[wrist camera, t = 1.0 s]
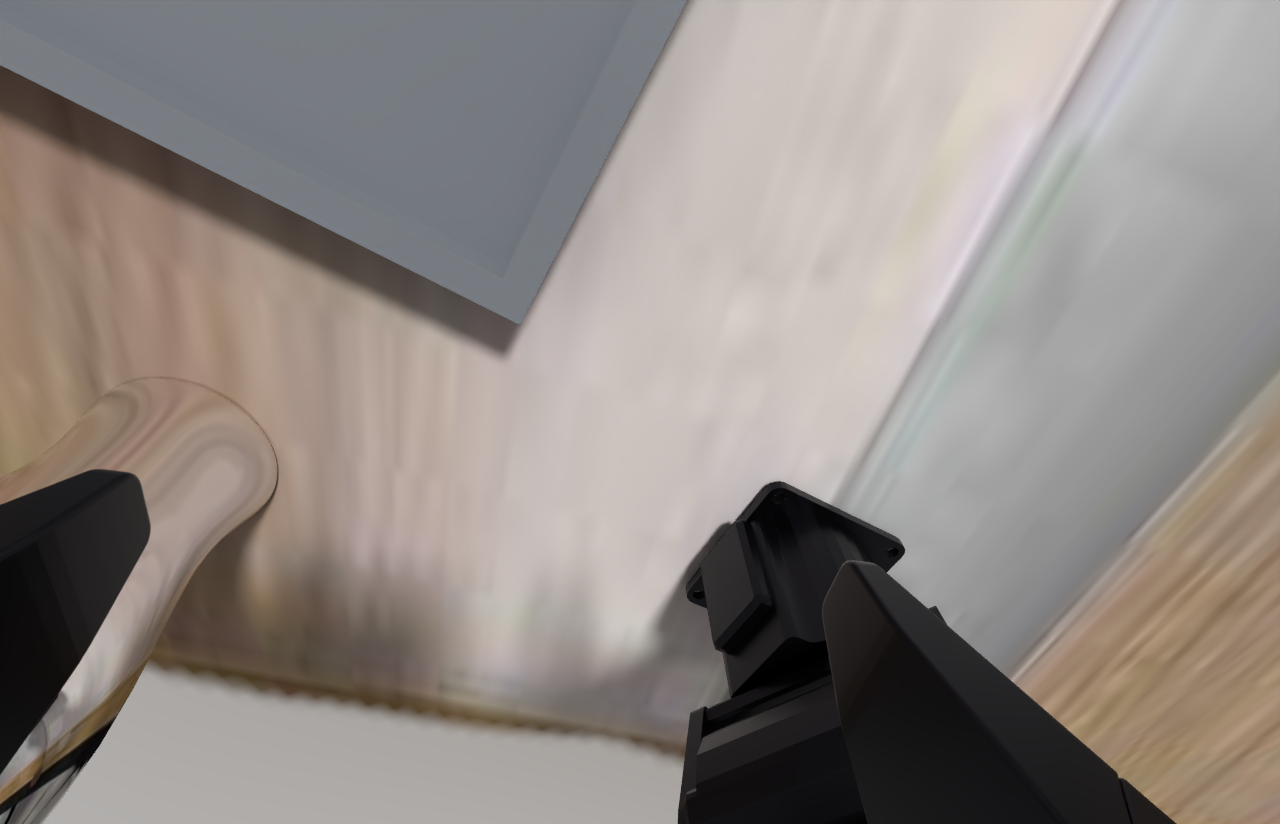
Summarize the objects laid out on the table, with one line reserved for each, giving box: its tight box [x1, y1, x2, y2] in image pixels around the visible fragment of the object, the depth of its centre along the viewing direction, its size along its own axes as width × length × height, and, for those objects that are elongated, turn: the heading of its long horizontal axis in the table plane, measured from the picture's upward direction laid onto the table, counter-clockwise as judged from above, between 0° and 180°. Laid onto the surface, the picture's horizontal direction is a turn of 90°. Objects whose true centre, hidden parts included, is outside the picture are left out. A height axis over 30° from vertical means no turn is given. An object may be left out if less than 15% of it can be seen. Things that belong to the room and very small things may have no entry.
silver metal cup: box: [0, 378, 277, 824], centre depth 16 cm, size 7×7×15 cm
